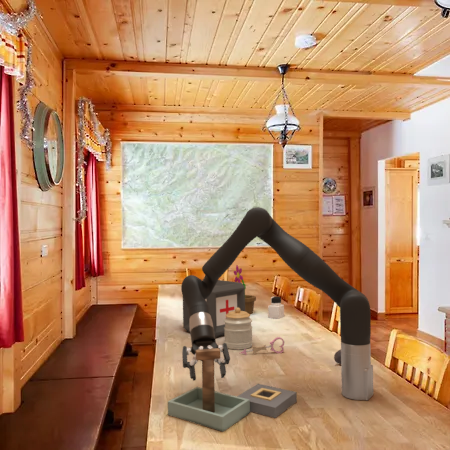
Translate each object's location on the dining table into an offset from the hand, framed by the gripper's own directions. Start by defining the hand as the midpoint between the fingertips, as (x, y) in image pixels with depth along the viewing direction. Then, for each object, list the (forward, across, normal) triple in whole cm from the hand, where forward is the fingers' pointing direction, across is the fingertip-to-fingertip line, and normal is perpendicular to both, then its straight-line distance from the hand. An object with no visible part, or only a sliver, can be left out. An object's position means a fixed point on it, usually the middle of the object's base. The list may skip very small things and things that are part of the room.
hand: (208, 378), depth 132 cm
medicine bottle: (-78, +62, +94) cm, 137 cm away
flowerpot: (-89, +46, +105) cm, 146 cm away
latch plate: (+5, +18, +10) cm, 22 cm away
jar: (-41, +26, +57) cm, 75 cm away
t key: (+6, 0, +8) cm, 11 cm away
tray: (+7, 0, +9) cm, 11 cm away
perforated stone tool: (-15, +63, +31) cm, 71 cm away
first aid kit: (-62, +20, +79) cm, 102 cm away
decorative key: (-31, +32, +47) cm, 65 cm away
